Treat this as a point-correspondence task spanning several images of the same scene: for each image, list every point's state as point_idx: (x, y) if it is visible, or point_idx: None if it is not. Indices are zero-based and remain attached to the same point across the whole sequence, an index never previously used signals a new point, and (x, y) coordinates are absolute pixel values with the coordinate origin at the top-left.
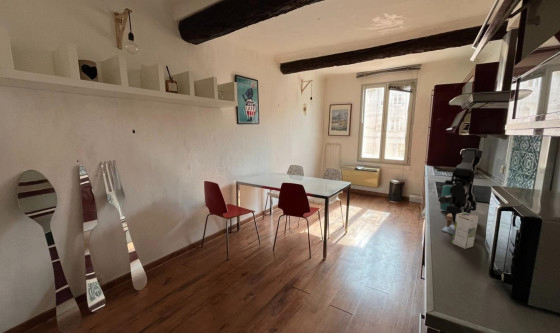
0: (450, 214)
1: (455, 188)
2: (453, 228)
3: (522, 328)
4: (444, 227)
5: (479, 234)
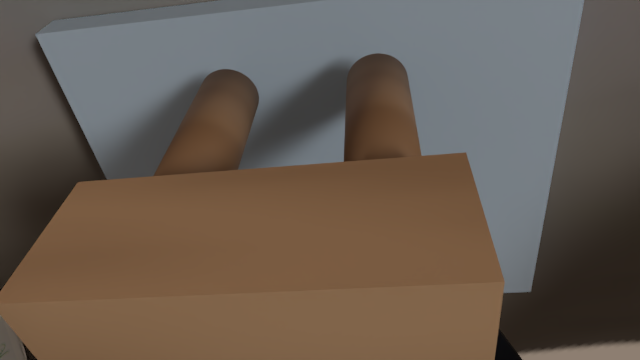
0: (339, 348)
1: None
2: (337, 148)
3: None
4: (215, 19)
5: None
